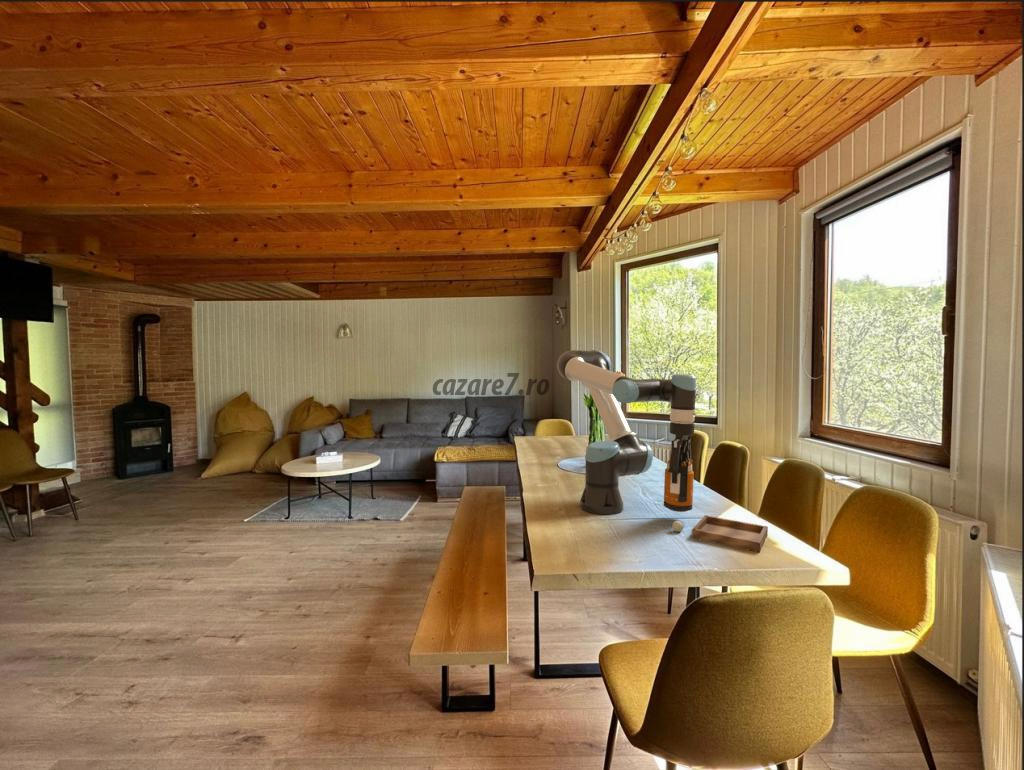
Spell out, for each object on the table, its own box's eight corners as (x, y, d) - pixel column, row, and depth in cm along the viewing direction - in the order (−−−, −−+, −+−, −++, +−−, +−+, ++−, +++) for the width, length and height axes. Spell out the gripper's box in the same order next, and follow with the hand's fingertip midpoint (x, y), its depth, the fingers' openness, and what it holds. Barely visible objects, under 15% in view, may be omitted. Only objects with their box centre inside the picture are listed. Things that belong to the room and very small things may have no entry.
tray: (691, 537, 140) (692, 529, 139) (704, 523, 153) (705, 515, 153) (759, 552, 129) (760, 542, 129) (767, 534, 142) (767, 526, 142)
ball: (670, 531, 145) (671, 521, 144) (673, 528, 147) (674, 518, 147) (681, 534, 143) (681, 523, 143) (684, 531, 145) (684, 520, 145)
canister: (688, 504, 159) (690, 446, 158) (697, 516, 148) (700, 453, 147) (660, 503, 160) (663, 445, 159) (668, 514, 149) (670, 452, 148)
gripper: (684, 427, 141) (681, 499, 143) (702, 419, 160) (700, 483, 161) (659, 424, 146) (657, 495, 147) (680, 417, 164) (678, 480, 166)
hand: (679, 489), depth 154 cm, fingers closed on canister, 10 cm apart
